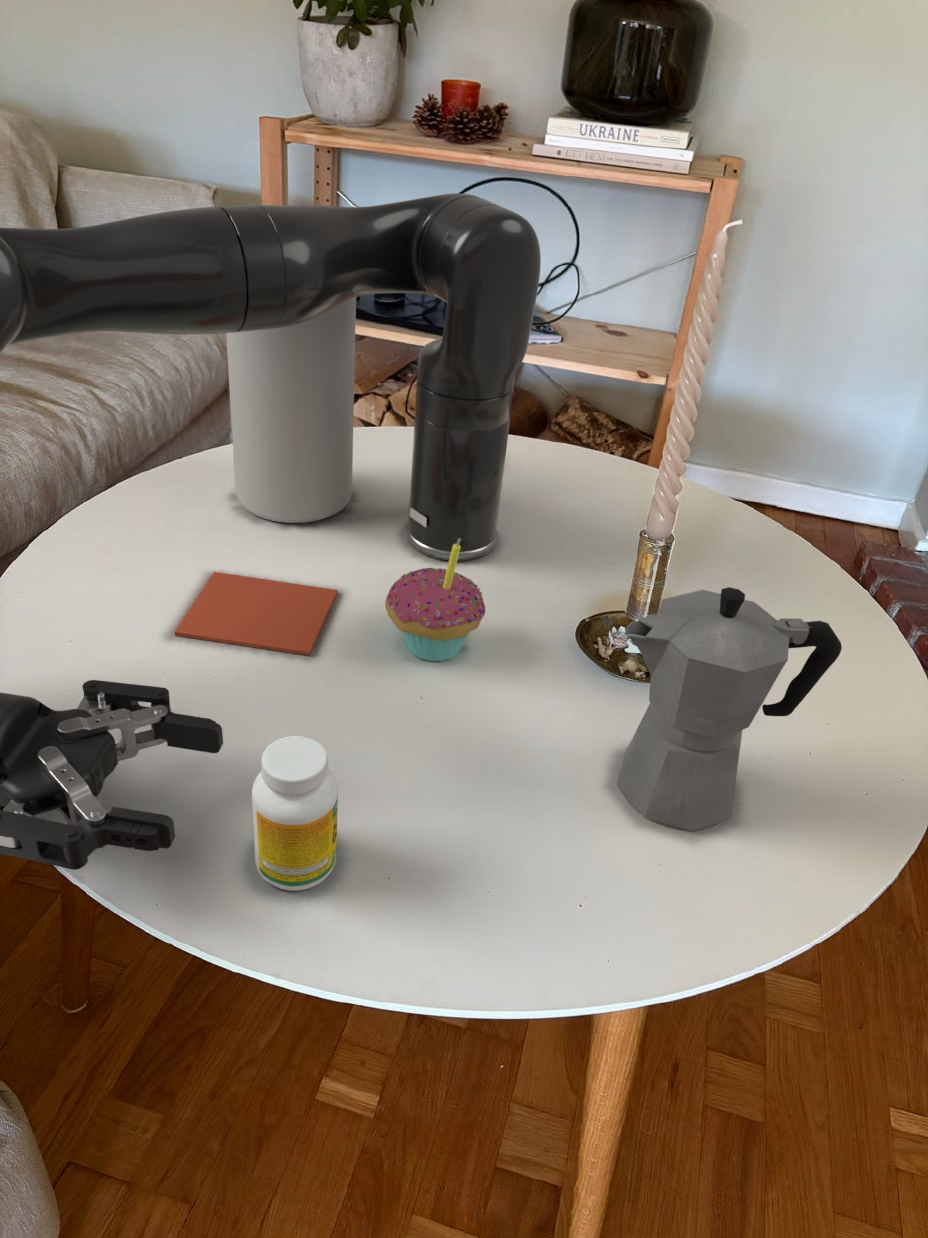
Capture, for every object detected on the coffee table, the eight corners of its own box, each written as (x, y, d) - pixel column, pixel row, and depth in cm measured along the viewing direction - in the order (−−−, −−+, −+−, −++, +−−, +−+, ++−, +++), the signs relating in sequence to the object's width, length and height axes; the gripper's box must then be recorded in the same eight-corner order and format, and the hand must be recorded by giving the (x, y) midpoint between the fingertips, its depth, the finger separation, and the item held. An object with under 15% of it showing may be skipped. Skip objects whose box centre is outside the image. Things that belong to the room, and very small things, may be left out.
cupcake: (499, 649, 85) (515, 532, 79) (432, 689, 80) (443, 567, 73) (431, 607, 90) (440, 493, 83) (363, 642, 85) (367, 523, 78)
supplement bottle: (246, 844, 65) (239, 738, 59) (321, 822, 67) (321, 719, 62) (269, 904, 61) (264, 798, 56) (348, 880, 63) (351, 774, 58)
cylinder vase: (261, 464, 111) (252, 238, 96) (365, 482, 109) (372, 256, 95) (217, 514, 101) (199, 270, 86) (331, 534, 99) (333, 290, 85)
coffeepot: (603, 835, 68) (654, 631, 58) (579, 744, 76) (620, 550, 66) (808, 834, 70) (892, 636, 60) (764, 746, 78) (832, 557, 67)
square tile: (214, 575, 91) (214, 571, 91) (337, 593, 90) (337, 589, 90) (174, 635, 83) (174, 631, 83) (309, 655, 82) (309, 652, 82)
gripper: (-131, 779, 54) (147, 825, 53) (2, 634, 66) (231, 669, 65) (-97, 868, 58) (160, 911, 57) (22, 717, 70) (237, 751, 69)
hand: (198, 783), depth 61 cm, fingers open, 8 cm apart
